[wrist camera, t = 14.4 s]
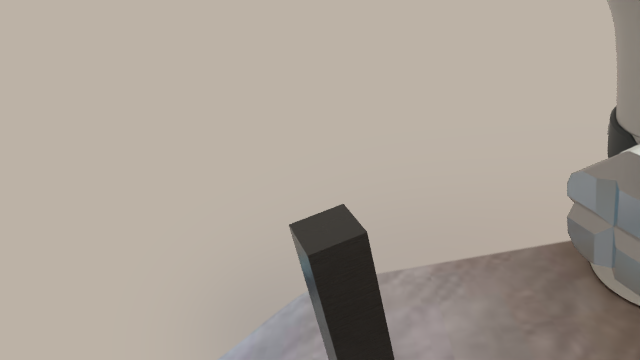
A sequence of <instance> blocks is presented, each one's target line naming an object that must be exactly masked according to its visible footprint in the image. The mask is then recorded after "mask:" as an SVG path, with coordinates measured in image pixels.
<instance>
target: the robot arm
mask: <svg viewBox="0 0 640 360" xmlns="http://www.w3.org/2000/svg"><path fill="white" fill-rule="evenodd" d="M607 2H608V4H609V7H610V10H611V13H612V17H613V22H614V27H615V36H616V50H617V51H616V52H617V106H616V107H615V108H614V109H613V111H612V113H611V116H610V124H609V126H608V135H609V136H608V159H606V160H603V161H601V162H599V163H596V164H594V165H591V166H589V167H587V168H584V169H582V170H579V171H577V172H575V173H572V174H571V176H570V178H569V181H568V185H567V195H568V196H569V198H570V199H571V200H572V201H573V202H574V205H573V207H572V209H571V211H570V212H569V214H568V216H567V219H568V220H567V221H568V233H569V236H570V238H571V240H572V242H573V245H574V247H575V248H576V249H577V250H578V251H579V253H580V254H581V255H582V256H583V257H584V258H586V259H587V260H589V261H590V263H591V266H592V268H593V270H594V272H595V273H596V275H597V276H598V277H599V278H600V280H601V281H602V282H603V283H604V284H605V285H606V286H608V287H609V288H610V289H611V290H613V291H614V292H615V293H617V294H618V295H620V296H622V297H623V298H625V299H627V300H629V301H630V302H633V303H635V304H637V305H639V306H640V0H607Z"/></svg>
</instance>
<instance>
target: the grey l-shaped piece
mask: <svg viewBox="0 0 640 360" xmlns="http://www.w3.org/2000/svg"><path fill="white" fill-rule="evenodd" d="M289 227H290V230H291V234H292V237H293V241H294V244H295V247H296V251H297V254H298V257H299V260H300V264H301V267H302V271H303V274H304V277H305V281H306V284H307V288H308V291H309V294H310V298H311V301H312V305H313V308H314V311H315V315H316V318H317V321H318V325H319V328H320V331H321V335H322V338H323V342H324V345H325V348H326V352H327V355H328V358H329V360H394V355H393V351H392V346H391V341H390V337H389V332H388V327H387V323H386V318H385V313H384V309H383V304H382V299H381V295H380V290H379V285H378V281H377V276H376V272H375V267H374V262H373V258H372V254H371V248H370V244H369V239H368V235H367V231H366V230H365V229H364V228H363V227H362V226H361V224H360V223H359V222H358V221H357V220H356V218H355V217H354V216H353V215H352V214H351V212H350V211H349V210H348V209H347V208H346V207H345V205H344V204H342V205H339V206H336V207H334V208H331V209H329V210H326V211H323V212H321V213H318V214H316V215H313V216H310V217H308V218H306V219H303V220H300V221H297V222H295V223H292V224H290V225H289Z"/></svg>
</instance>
